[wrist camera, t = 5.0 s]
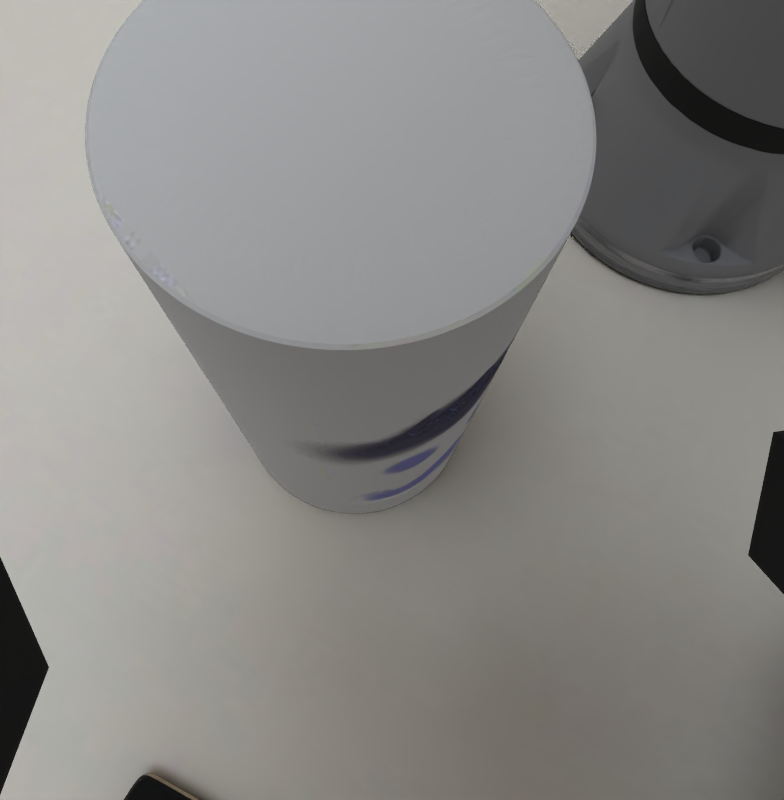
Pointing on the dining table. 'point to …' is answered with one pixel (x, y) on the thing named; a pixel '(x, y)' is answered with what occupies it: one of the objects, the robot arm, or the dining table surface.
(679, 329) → the dining table surface
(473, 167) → the container
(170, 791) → the smartphone
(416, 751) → the dining table surface
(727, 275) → the robot arm
